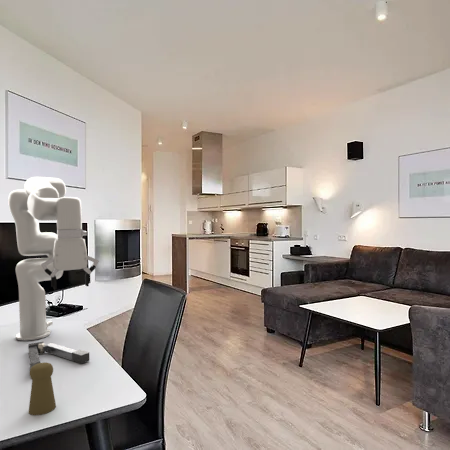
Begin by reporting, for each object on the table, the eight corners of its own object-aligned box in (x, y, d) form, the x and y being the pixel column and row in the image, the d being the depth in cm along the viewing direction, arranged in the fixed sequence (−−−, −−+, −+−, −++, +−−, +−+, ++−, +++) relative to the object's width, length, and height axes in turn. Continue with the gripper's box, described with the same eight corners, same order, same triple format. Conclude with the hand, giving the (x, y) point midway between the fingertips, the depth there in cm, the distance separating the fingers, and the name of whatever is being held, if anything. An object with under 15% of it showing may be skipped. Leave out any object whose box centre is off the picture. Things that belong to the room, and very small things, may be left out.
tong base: (26, 352, 129) (26, 344, 129) (43, 349, 132) (43, 341, 132) (30, 378, 108) (30, 368, 108) (51, 373, 110) (50, 364, 110)
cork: (44, 416, 86) (43, 369, 86) (22, 414, 87) (21, 368, 87) (61, 403, 92) (60, 360, 92) (40, 401, 93) (39, 359, 93)
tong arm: (37, 353, 128) (36, 344, 128) (51, 348, 132) (51, 340, 132) (74, 366, 115) (74, 356, 115) (89, 360, 120) (89, 350, 120)
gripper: (95, 234, 126) (97, 283, 126) (39, 236, 118) (41, 288, 118) (99, 234, 120) (100, 286, 120) (40, 236, 111) (42, 292, 111)
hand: (71, 287), depth 119 cm, fingers open, 9 cm apart
